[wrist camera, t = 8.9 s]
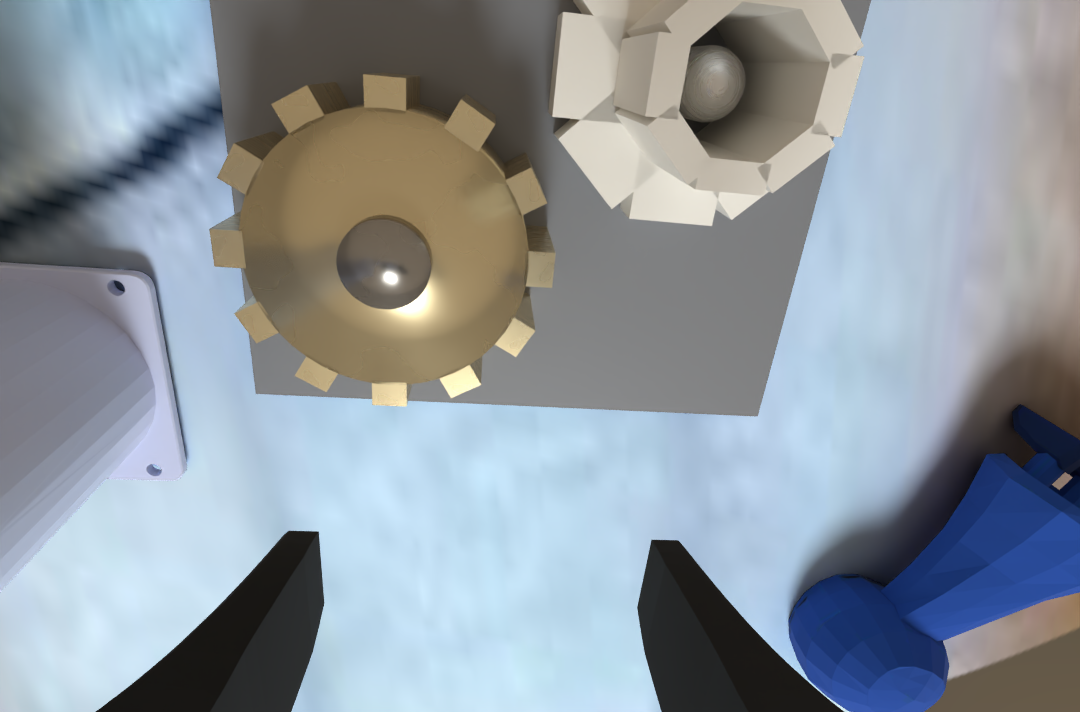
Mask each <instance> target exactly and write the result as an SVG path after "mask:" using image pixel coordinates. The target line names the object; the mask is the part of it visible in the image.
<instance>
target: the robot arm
mask: <svg viewBox="0 0 1080 712" xmlns="http://www.w3.org/2000/svg"><path fill="white" fill-rule="evenodd" d="M114 280H116V281H119V282H121V283H122V284H123V286H124V288H125V292H123V291H120V290H118V289H117V288H116V286H115V284H114ZM152 464H155V465H158V466H159V467H160V468H161V470H159V469H156V468H155V467H153V465H152ZM186 470H187V463H186V457H185V452H184V446H183V441H182V435H181V429H180V424H179V418H178V413H177V407H176V402H175V396H174V391H173V385H172V380H171V374H170V369H169V363H168V358H167V352H166V346H165V341H164V335H163V330H162V324H161V319H160V313H159V308H158V302H157V297H156V291H155V286H154V284H153V281H152V280H151V279H150V277H149V276H148V275H146V274H144V273H143V272H139V271H134V270H118V269H102V268H86V267H70V266H54V265H38V264H22V263H6V262H0V592H1V591H2V590H3V589H4V588H5V587H6V586H7V585H8V584H9V583H10V582H11V581H12V580H13V579H14V577H15V576H16V575H17V574H18V573H19V572H20V571H21V570H22V569H23V568H24V567H25V566H26V565H27V564H28V562H29V561H30V560H31V559H32V558H33V557H34V556H35V555H36V554H37V553H38V552H39V551H40V550H41V549H42V548H43V546H44V545H45V544H46V543H47V542H48V541H49V540H50V539H51V538H52V537H53V536H54V535H55V534H56V533H57V532H58V530H59V529H60V528H61V527H62V526H63V525H64V524H65V523H66V522H67V521H68V520H69V519H70V518H71V517H72V516H73V514H74V513H75V512H76V511H77V510H78V509H79V508H80V507H81V506H82V505H83V504H84V503H85V502H86V501H87V500H88V498H89V497H90V496H91V495H92V494H93V493H94V492H95V491H96V490H97V489H98V488H99V487H100V486H101V485H102V484H103V482H104V481H105V480H106V479H123V480H155V481H175V480H178V479H180V478H181V477H182V476H183V474H184V473H185V472H186ZM323 606H324V595H323V582H322V570H321V557H320V544H319V532H312V531H288V532H287V533H286V534H285V535H283V537H282V538H281V539H280V540H279V541H278V542H277V543H276V545H275V546H274V547H273V548H272V549H271V550H270V551H269V553H268V554H267V555H266V556H265V557H264V558H263V559H262V561H261V562H260V563H259V564H258V565H257V566H256V567H255V568H254V569H253V570H252V572H251V573H250V574H249V575H248V576H247V577H246V578H245V579H244V580H243V581H242V582H241V583H240V584H239V586H238V587H237V588H236V589H235V590H234V591H233V592H232V593H231V594H230V595H229V596H228V597H227V598H226V599H225V600H224V601H223V602H222V603H221V604H220V605H219V606H218V607H217V608H216V609H215V610H214V611H213V612H212V613H211V614H210V615H209V616H208V617H207V618H206V619H205V620H204V621H203V622H202V623H201V624H200V625H199V626H198V627H197V628H196V629H194V630H193V631H192V632H191V633H190V634H189V635H188V636H187V637H186V638H185V639H184V640H183V641H182V642H181V643H180V644H179V645H177V646H176V647H175V648H174V649H173V650H172V651H171V652H170V653H168V654H167V655H166V656H165V657H164V658H163V659H162V660H160V661H159V662H158V663H157V664H156V665H155V666H153V667H152V668H151V669H150V670H149V671H147V672H146V673H145V674H144V675H143V676H141V677H140V678H139V679H138V680H136V681H135V682H134V683H133V684H132V685H130V686H129V687H128V688H126V689H125V690H124V691H122V692H121V693H120V694H119V695H117V696H116V697H115V698H113V699H112V700H111V701H109V702H108V703H107V704H106V705H104V706H103V707H102V708H100V709H99V710H97V711H96V712H291V711H292V708H293V705H294V702H295V700H296V697H297V694H298V691H299V689H300V686H301V683H302V680H303V677H304V675H305V672H306V669H307V666H308V664H309V661H310V658H311V655H312V652H313V648H314V644H315V640H316V636H317V632H318V628H319V624H320V619H321V615H322V611H323ZM637 609H638V615H639V621H640V628H641V634H642V640H643V645H644V651H645V655H646V659H647V663H648V666H649V670H650V673H651V677H652V680H653V684H654V687H655V691H656V694H657V697H658V701H659V704H660V708H661V711H662V712H844V711H842V710H841V709H840V708H839V707H837V706H836V705H835V704H833V703H832V702H831V701H830V700H829V699H827V698H826V697H825V696H824V695H823V694H821V693H820V692H819V691H818V690H817V689H816V688H814V687H813V686H812V685H811V684H810V683H809V682H808V681H807V680H805V679H804V678H803V677H802V676H801V675H800V674H799V673H798V672H797V671H795V670H794V669H793V668H792V667H791V666H790V665H789V664H788V663H787V662H786V661H785V660H784V659H783V658H781V657H780V656H779V655H778V654H777V653H776V652H775V651H774V650H773V649H772V648H771V647H770V646H769V645H768V644H767V643H766V642H765V640H764V639H763V638H762V637H761V636H760V635H759V634H758V633H757V632H756V631H755V630H754V629H753V628H752V627H751V626H750V625H749V624H748V623H747V621H746V620H745V619H744V618H743V617H742V616H741V615H740V614H739V612H738V611H737V610H736V609H735V608H734V607H733V606H732V604H731V603H730V602H729V601H728V600H727V599H726V598H725V596H724V595H723V594H722V593H721V592H720V591H719V589H718V588H717V587H716V586H715V585H714V583H713V582H712V581H711V580H710V579H709V577H708V576H707V575H706V574H705V572H704V571H703V570H702V569H701V568H700V566H699V565H698V564H697V563H696V561H695V560H694V559H693V558H692V556H691V555H690V554H689V553H688V551H687V550H686V549H685V548H684V547H683V545H682V544H681V543H680V542H679V541H677V540H652V541H651V545H650V550H649V555H648V560H647V564H646V569H645V574H644V579H643V583H642V588H641V593H640V598H639V602H638V607H637Z"/></svg>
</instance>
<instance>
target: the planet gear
mask: <svg viewBox="0 0 1080 712" xmlns="http://www.w3.org/2000/svg"><path fill="white" fill-rule="evenodd" d="M573 1H574V3H575V4H576V6H577V7H578V9H579V10H580V12H581V13H582V14H577V13H569V12H562V13H561V14H560V15H558V19H557V29H556V39H555V49H554V59H553V69H552V79H551V89H550V99H549V109H548V113H549V114H550V115H551V116H552V117H560V118H570V120H569V121H568V122H566V123H565V124H564V125H563V126H562V127H561V128H560V129H558V130H557V131H556V132H555V133H554V134H555V136H556V137H557V138H558V140H559V141H560V142H561V144H562V145H563V146H564V148H565V149H566V150H567V152H568V153H569V154H570V155H571V157H572V158H573V159H574V161H575V162H576V163H577V165H578V166H579V167H580V169H581V170H582V171H583V173H584V174H585V175H586V176H587V178H588V179H589V180H590V182H591V183H592V184H593V186H594V187H595V188H596V190H597V191H598V192H599V194H600V195H601V196H602V197H603V199H604V200H605V201H606V203H607V204H608V205H609V206H610V207H611V209H613V208H614V207H615V206H616V205H618V204H619V203H620V202H621V205H620V209H621V210H622V211H623V212H624V213H625V214H626V216H627V217H628V218H629V219H638V220H649V221H660V222H672V223H683V224H694V225H705V226H712V223H713V219H714V214H715V210H717V211H719V212H720V213H722V214H723V215H725V216H726V217H728V218H729V219H731V220H732V219H734V218H735V217H736V216H738V215H739V214H740V213H742V212H743V211H744V210H745V209H747V208H748V207H749V206H751V205H752V204H753V203H755V202H756V201H757V200H759V199H760V198H761V197H763V196H764V195H765V194H766V193H768V192H771V193H774V192H775V191H776V190H778V189H779V188H780V187H782V186H783V185H784V184H786V183H787V182H788V181H790V180H791V179H792V178H793V177H795V176H796V175H797V174H799V173H800V172H801V171H803V170H804V169H805V168H807V167H808V166H809V165H811V164H812V163H813V162H815V161H816V160H817V159H818V158H820V157H821V156H822V155H824V154H825V153H826V152H828V151H829V150H830V149H832V148H833V147H834V146H835V145H834V143H833V141H832V140H831V138H830V136H834V137H841V136H842V132H843V129H844V125H845V122H846V118H847V115H848V112H849V108H850V105H851V101H852V98H853V94H854V91H855V87H856V84H857V80H858V77H859V74H860V70H861V67H862V63H863V60H864V56H856V55H853V54H854V53H856V52H857V51H858V50H859V49H861V48H862V47H863V46H864V45H863V43H862V41H861V39H860V37H859V36H858V34H857V32H856V30H855V28H854V26H853V24H852V22H851V20H850V18H849V16H848V14H847V12H846V10H845V8H844V6H843V4H842V2H841V0H573ZM714 25H715V27H716V28H717V30H718V32H719V33H720V35H721V37H722V38H723V40H724V42H725V43H726V45H727V47H728V48H729V50H730V51H732V52H733V53H734V54H735V55H736V56H737V57H738V58H739V60H740V61H741V63H742V65H743V68H744V72H745V88H744V92H743V95H742V97H741V99H740V101H739V103H738V104H737V106H736V107H735V108H734V109H733V110H732V111H731V112H730V113H729V114H728V115H726V116H725V117H723V118H721V119H719V120H716V121H713V122H711V123H709V124H708V125H707V126H706V127H704V128H703V129H702V130H701V131H699V132H698V133H697V134H696V135H695V134H694V133H693V131H692V130H691V128H690V127H689V125H688V124H687V122H686V121H685V119H684V118H683V116H682V115H681V113H680V112H679V107H680V102H681V96H682V91H683V85H684V80H685V74H686V69H687V64H688V58H689V53H690V47H691V45H692V44H693V43H694V42H696V41H697V40H698V39H699V38H700V37H701V36H703V35H704V34H705V33H706V32H707V31H709V30H710V29H711V28H712V27H713V26H714Z"/></svg>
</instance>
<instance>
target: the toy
mask: <svg viewBox="0 0 1080 712" xmlns="http://www.w3.org/2000/svg"><path fill="white" fill-rule="evenodd" d="M1012 416H1013V423H1014V430H1015V431H1016V432H1017V433H1018V434H1019V435H1020V436H1021V437H1022V438H1023V439H1024V440H1025V441H1026V442H1027V443H1028V444H1029V445H1030V446H1031V447H1032V448H1033V449H1034V451H1036V452H1037V454H1036V455H1035V456H1034V457H1033V458H1032V459H1031V460H1030V461H1029V462H1027V463H1026V464H1025V465H1024V466H1023V467H1022V468H1021V467H1019V466H1018V465H1017V464H1016V463H1015V462H1014V461H1012V460H1011V459H1010V458H1009V457H1008V456H1007V454H1004V453H1001V454H987V455H986V457H985V459H984V461H983V463H982V465H981V467H980V468H979V470H978V472H977V474H976V476H975V478H974V480H973V482H972V484H971V485H970V487H969V489H968V491H967V493H966V495H965V496H964V498H963V499H962V501H961V502H960V504H959V505H958V507H957V508H956V510H955V511H954V513H953V514H952V516H951V517H950V519H949V520H948V522H947V523H946V525H945V526H944V528H943V529H942V530H941V531H940V533H939V534H938V535H937V536H936V537H935V538H934V539H933V540H932V541H931V542H930V544H929V545H928V546H927V547H926V548H925V549H924V550H923V551H922V552H921V553H920V554H919V556H918V557H917V558H916V559H915V560H914V561H913V562H912V563H911V564H910V565H909V566H908V567H907V568H906V569H905V570H904V571H902V572H901V573H900V574H899V575H898V576H897V577H896V578H895V579H894V580H892V581H891V582H890V583H889V584H888V585H887V586H886V587H885V586H884V585H882V584H880V583H877V582H875V581H872V580H870V579H867V578H865V577H862V576H860V575H857V574H848V575H835V576H832V577H830V578H827V579H824V580H822V581H819V582H818V583H817V584H815V585H814V586H813V587H811V588H810V589H809V590H807V591H806V592H805V593H804V594H803V595H802V597H801V598H800V599H799V601H798V602H797V604H796V605H795V606H794V609H793V611H792V614H791V616H790V619H789V638H790V640H791V643H792V646H793V649H794V652H795V654H796V657H797V660H798V661H799V663H800V665H801V667H802V669H803V670H804V672H805V674H806V676H807V677H808V679H809V680H810V681H811V682H812V683H813V684H814V685H815V686H816V687H817V688H818V689H819V690H821V691H822V692H823V693H824V694H825V695H826V696H827V697H829V698H830V699H832V700H833V701H835V702H836V703H837V704H839V705H840V706H842V707H843V708H845V709H846V710H848V711H850V712H924V711H926V710H927V709H928V708H930V707H931V706H932V705H934V704H935V703H936V702H937V701H938V700H939V699H940V698H941V696H942V694H943V692H944V690H945V687H946V682H947V676H948V670H949V662H948V657H947V653H946V649H945V646H944V643H943V640H946V639H949V638H951V637H954V636H956V635H959V634H961V633H964V632H966V631H969V630H971V629H974V628H976V627H979V626H981V625H984V624H987V623H989V622H992V621H994V620H997V619H999V618H1002V617H1004V616H1007V615H1010V614H1012V613H1015V612H1017V611H1020V610H1022V609H1025V608H1028V607H1030V606H1033V605H1035V604H1038V603H1040V602H1043V601H1046V600H1050V599H1054V598H1058V597H1062V596H1066V595H1070V594H1074V593H1079V592H1080V440H1079V439H1077V438H1075V437H1074V436H1072V435H1070V434H1069V433H1067V432H1066V431H1064V430H1062V429H1061V428H1059V427H1057V426H1056V425H1054V424H1052V423H1051V422H1049V421H1047V420H1046V419H1044V418H1043V417H1041V416H1039V415H1038V414H1036V413H1034V412H1033V411H1031V410H1029V409H1028V408H1026V407H1025V406H1023V405H1021V404H1020V405H1019V406H1018V407H1017V408H1016V409H1015V410H1014V411H1013V412H1012ZM1064 472H1066V473H1067V474H1070V475H1071V476H1072V477H1073V478H1072V479H1071V480H1070V481H1069V482H1068V483H1067V484H1066V485H1065V486H1063V487H1062V488H1061V489H1060V490H1058V489H1057V488H1055V487H1054V486H1053V485H1052V484H1053V483H1054V482H1055V481H1056V480H1057V479H1058V478H1059V477H1060V476H1061V475H1062V474H1063V473H1064Z"/></svg>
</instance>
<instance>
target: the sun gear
mask: <svg viewBox="0 0 1080 712" xmlns="http://www.w3.org/2000/svg"><path fill="white" fill-rule="evenodd" d="M363 86H364V104H361V105H357V106H353V107H350V106H349V104H348V102H347V100H346V98H345V97H344V95H343V93H342V91H341V89H340V88H339V86H338V84H337V82H330V83H321V84H312V85H306V86H304V87H302V88H301V89H299V90H297V91H295V92H293V93H291V94H289V95H288V96H286V97H284V98H282V99H280V100H278V101H276V102H275V103H273V104H271V105H272V107H273V108H274V110H275V112H276V113H277V115H278V116H279V118H280V120H281V121H282V123H283V125H284V126H285V128H286V130H287V131H288V133H289V134H288V135H287V136H286V137H285V138H283V137H282V136H280V135H279V134H277V133H276V132H274V131H272V132H269V133H266V134H262V135H259V136H256V137H252V138H249V139H246V140H242V141H239V142H236V143H234V144H233V146H232V148H231V150H230V152H229V154H228V156H227V158H226V160H225V162H224V165H223V167H222V169H221V171H220V173H219V175H218V177H217V178H218V179H220V180H222V181H223V182H225V183H227V184H228V185H230V186H232V187H233V188H235V189H237V190H238V191H240V192H242V193H243V194H245V197H244V202H243V206H242V210H241V211H240V212H238V213H236V214H235V215H233V216H231V217H229V218H228V219H226V220H224V221H222V222H221V223H219V224H217V225H215V226H214V227H212V228H210V229H209V230H210V237H211V244H212V252H213V259H214V266H216V267H232V268H243V269H244V272H245V275H246V278H247V281H248V284H249V287H250V289H251V291H252V293H253V296H252V297H251V298H250V299H249V300H248V301H247V302H246V303H245V304H244V305H243V306H242V307H241V308H240V309H239V310H238V311H237V312H235V313H234V314H235V315H236V317H237V318H238V319H239V321H240V322H241V323H242V325H243V326H244V327H245V329H246V330H247V331H248V333H249V334H250V335H251V337H252V338H253V339H254V341H255V342H256V343H258V342H261V341H263V340H265V339H267V338H269V337H271V336H273V335H275V334H277V333H280V334H281V335H282V336H283V337H284V338H285V339H286V340H287V341H288V342H289V343H290V344H291V345H292V346H293V347H294V348H296V349H297V350H298V351H300V352H301V353H302V354H304V355H305V356H306V358H305V359H304V361H303V363H302V364H301V366H300V368H299V369H298V371H297V373H296V374H295V376H296V377H298V378H300V379H302V380H304V381H306V382H307V383H309V384H311V385H313V386H315V387H317V388H319V389H321V390H323V391H325V392H327V391H328V389H329V388H330V386H331V384H332V383H333V381H334V380H335V378H336V376H337V375H338V374H340V375H343V376H346V377H349V378H352V379H355V380H360V381H365V382H369V383H372V405H386V406H407V403H408V399H409V395H410V391H411V387H412V384H416V383H424V382H428V381H432V380H436V379H440V381H441V382H442V384H443V385H444V387H445V389H446V390H447V392H448V394H449V395H450V397H451V398H453V397H455V396H457V395H459V394H462V393H464V392H466V391H468V390H471V389H473V388H475V387H477V386H479V385H481V376H482V356H483V355H484V354H485V353H486V352H487V351H488V350H489V349H490V348H492V347H493V346H494V345H497V346H498V347H500V348H502V349H503V350H505V351H507V352H508V353H510V354H512V355H513V356H515V357H516V356H517V355H518V354H519V352H520V351H521V350H522V348H523V347H524V346H525V344H526V343H527V341H528V340H529V339H530V337H531V336H532V335H533V333H534V332H535V324H534V318H533V311H532V304H531V298H530V295H529V294H527V293H525V292H524V291H525V288H526V286H529V287H545V288H552V284H553V274H554V264H555V255H556V253H555V249H554V246H553V243H552V240H551V237H550V234H549V231H548V227H542V226H529V225H525V222H524V216H523V215H524V214H526V213H528V212H530V211H532V210H534V209H536V208H538V207H540V206H543V205H545V204H547V201H546V198H545V196H544V193H543V190H542V188H541V185H540V183H539V180H538V178H537V176H536V174H535V172H534V169H533V167H532V165H531V163H530V161H529V158H528V156H527V154H526V153H524V154H522V155H520V156H518V157H516V158H514V159H512V160H510V161H508V162H506V163H503V162H502V160H501V159H500V158H499V156H498V155H497V153H496V152H495V151H494V149H493V148H492V147H491V146H490V145H489V144H488V143H487V142H486V141H485V140H486V139H487V137H488V135H489V134H490V132H491V131H492V129H493V127H494V126H495V124H496V119H495V115H494V114H493V113H492V112H490V111H489V110H488V109H486V108H485V107H483V106H482V105H481V104H479V103H478V102H477V101H475V100H474V99H473V98H471V97H470V96H468V95H467V94H466V95H465V96H464V97H463V98H462V99H461V100H460V102H459V103H458V105H457V107H456V108H455V110H454V112H453V113H452V115H449V114H446V113H444V112H442V111H440V110H437V109H435V108H431V107H428V106H425V105H421V104H420V76H414V75H403V74H393V73H372V74H363Z"/></svg>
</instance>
